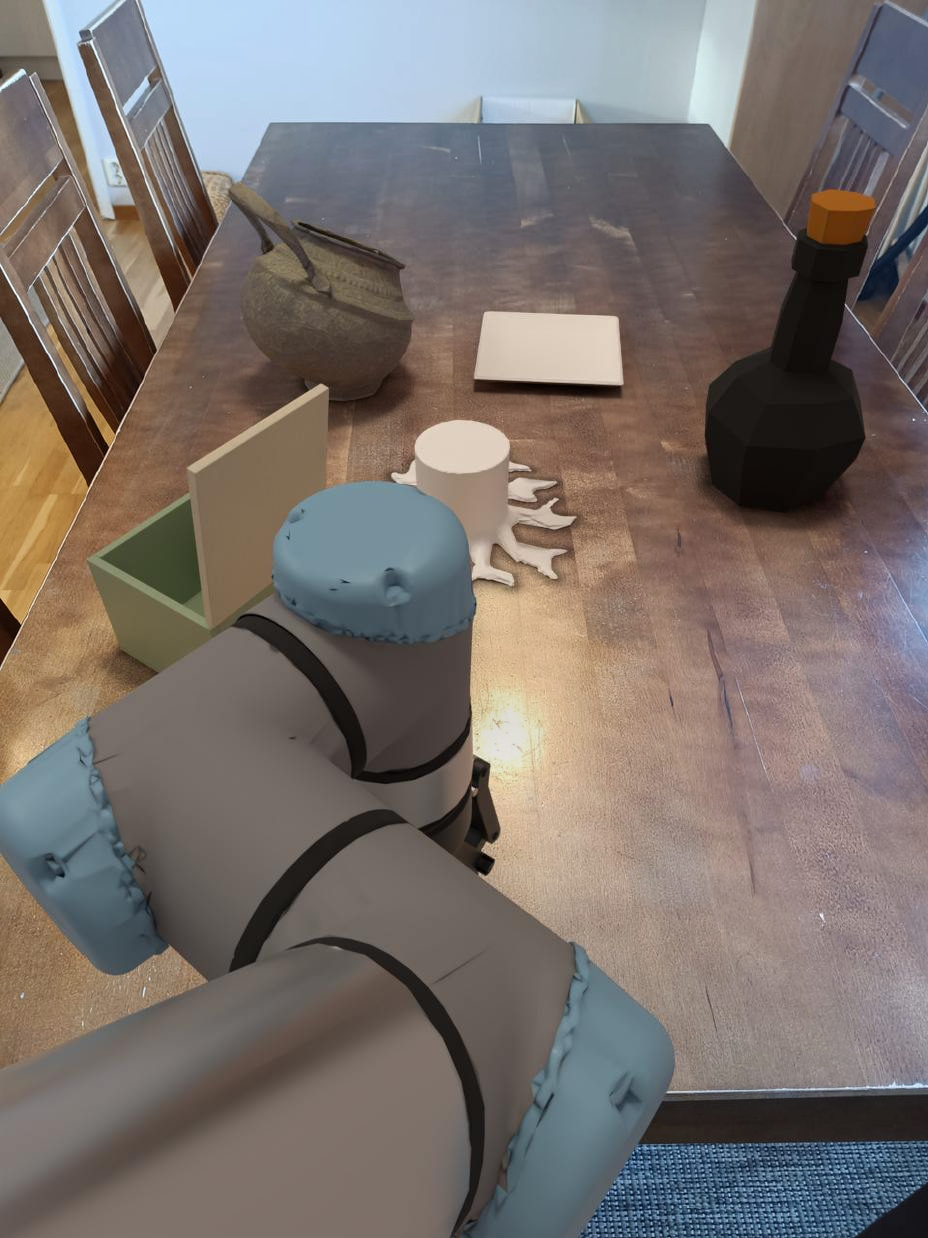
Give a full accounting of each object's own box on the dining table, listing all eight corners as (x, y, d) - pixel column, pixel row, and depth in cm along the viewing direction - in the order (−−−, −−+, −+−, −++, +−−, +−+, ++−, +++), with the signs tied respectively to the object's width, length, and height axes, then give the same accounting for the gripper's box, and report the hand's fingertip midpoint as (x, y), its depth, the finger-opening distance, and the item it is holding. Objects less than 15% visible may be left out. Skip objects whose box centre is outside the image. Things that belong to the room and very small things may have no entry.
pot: (254, 434, 107) (213, 217, 89) (256, 351, 121) (221, 151, 104) (426, 419, 109) (418, 205, 91) (408, 339, 123) (398, 141, 106)
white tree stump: (599, 578, 88) (609, 501, 81) (343, 601, 86) (333, 524, 79) (553, 449, 104) (558, 376, 98) (336, 466, 102) (327, 392, 95)
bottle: (866, 518, 95) (980, 229, 74) (716, 530, 93) (788, 239, 72) (807, 435, 106) (891, 164, 85) (672, 445, 105) (723, 172, 84)
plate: (616, 329, 126) (618, 314, 124) (621, 398, 112) (623, 383, 111) (483, 323, 127) (484, 309, 125) (473, 391, 113) (473, 376, 112)
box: (121, 650, 81) (85, 559, 74) (222, 574, 89) (199, 484, 81) (236, 721, 75) (210, 630, 68) (334, 634, 83) (321, 543, 75)
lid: (185, 467, 56) (195, 473, 56) (320, 382, 63) (329, 387, 63) (205, 623, 67) (213, 629, 67) (317, 536, 75) (324, 541, 75)
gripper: (461, 614, 52) (462, 829, 67) (171, 902, 39) (256, 1085, 55) (574, 668, 49) (548, 880, 64) (299, 1001, 36) (351, 1165, 51)
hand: (414, 974), depth 59 cm, fingers open, 9 cm apart
